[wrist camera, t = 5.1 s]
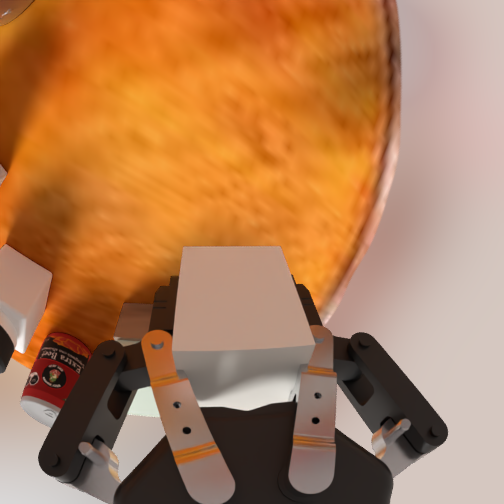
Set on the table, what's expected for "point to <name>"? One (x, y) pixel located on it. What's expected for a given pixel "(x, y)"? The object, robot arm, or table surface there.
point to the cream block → (239, 326)
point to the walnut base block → (133, 322)
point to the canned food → (53, 376)
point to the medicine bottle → (20, 301)
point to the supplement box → (2, 174)
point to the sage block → (142, 397)
